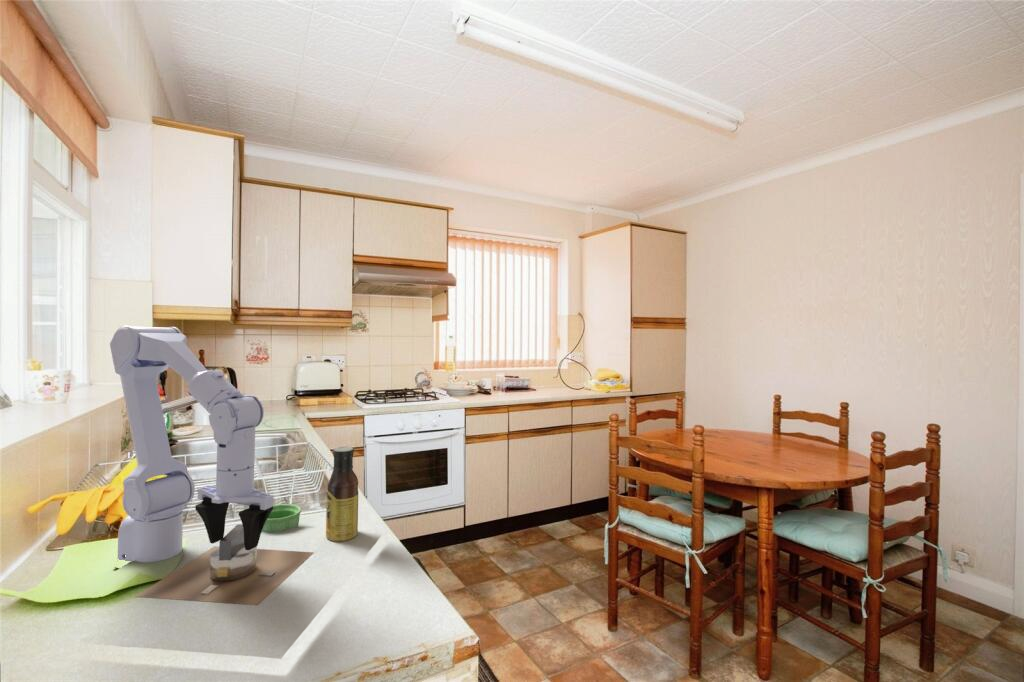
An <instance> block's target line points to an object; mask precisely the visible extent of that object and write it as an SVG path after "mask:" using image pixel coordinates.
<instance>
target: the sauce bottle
mask: <svg viewBox="0 0 1024 682" xmlns="http://www.w3.org/2000/svg"><path fill="white" fill-rule="evenodd" d="M354 452H355V449H354V447H352V446H349V445H348V446H338V447H337V446H336V447H335V448H333V450H332V456H333V467H332V469H333V470H332V472H331V474H330V478H329V481H328V484H327V486H326V505H325V507H326V510H325V515H326V516H325V517H326V518H325V537H326V539H327V540H328V541H331V542H335V543H336V542H337V543H338V542H339V543H340V542H346V541H349V540H352V539H354V538H356V536H357V535H358V530H359V528H358V526H359V479H358V476H357V475H356V473H355V472H354V470H353V468H354V465H353V463H354V462H353V461H354V459H353V458H354V454H355V453H354Z"/></svg>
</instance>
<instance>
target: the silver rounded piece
mask: <svg viewBox="0 0 1024 682" xmlns="http://www.w3.org/2000/svg"><path fill="white" fill-rule="evenodd" d="M218 546H219V547H218V548H216V549H215V550H213V551H212V552H211V554H210V577H211V578H212V579H214V580H218V581H228V580H234V579H238V578H242V577H244V576H247V575H249V574H250V573H252V572H253V571H254V570H255V569H256V555H257V549H258V546H256V547H254V548H253V549H251V550H245V546H244V530H243V525H242V524H241V523H239V524H236V525H235V526H234V527H233V528H232V529H231V530H230V531H229V532H227V534H225V535H224V536H223V538H222V539H221V540H220V541H219V545H218Z"/></svg>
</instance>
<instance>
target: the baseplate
mask: <svg viewBox="0 0 1024 682" xmlns="http://www.w3.org/2000/svg"><path fill="white" fill-rule="evenodd" d="M218 547H219V545H218V546H216V545H214V546H212V547H211V548H209V549H208V550H206V551H205V552H203V553H201V554H200V555H198V556H197V557H195V558H193V559H192V560H190V561H189V562H188V563H186V564H184V565H183V566H181V567H179V568H178V569H175V570H174V571H173V572H172V573H170V574H168V575H166V576H165V577H164V578H162V579H161V580H159V581H157V582H156V583H154V584H153V585H150V587H148V588H147V589H144V590H143V591H142V592H140V593H138V594H137V595H135V598H149V599H150V598H151V599H163V600H174V601H188V602H189V601H191V602H192V601H193V602H204V603H218V604H234V605H246V606H259V605H260V604H261V603H262V602H263V601H264V600H265V599H267V597H268V596H270V595H271V593H273V592H274V591H275V590H276V589H277V588H278V587H279V586H280V585H281V584H282V583H284V581H285V580H286V579H288V577H290V576H291V575H292V574H293V573H294V572H295V571H296V570H297V569H298V568H299V567H300V566H302V564H304V562H306V561H307V560H308V559H309V558H310V557H311V556H312V555H313V554H314V553H315V552H314V551H313V552H312V551H299V550H297V551H296V550H295V551H294V550H282V549H268V548H267V549H266V548H257V555H256V569H255V570H254V571H253V572H252V573H250V574H249V575H247V576H244V577H242V578H238V579H234V580H228V581H218V580H214V579H212V578H211V577H210V554H211V552H212V551H213V550H215V549H216V548H218Z"/></svg>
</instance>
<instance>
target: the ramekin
mask: <svg viewBox="0 0 1024 682" xmlns="http://www.w3.org/2000/svg"><path fill="white" fill-rule="evenodd" d="M301 513H302V508H301V507H300V506H298V505H296V504H289V503H288V504H287V503H285V504H284V503H283V504H273V510H272V511H271V513H270V514H269V516H268V518H267V520H266V522H265V524H264V526H263V529H262V532H267V533H270V532H271V533H272V532H273V533H274V532H282V531H286V530H289V529H293V528H299V525H300V517H301V516H300V515H301Z"/></svg>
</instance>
